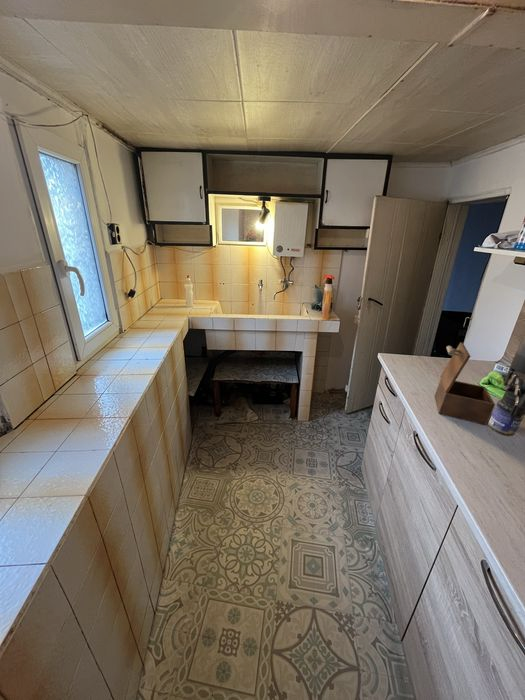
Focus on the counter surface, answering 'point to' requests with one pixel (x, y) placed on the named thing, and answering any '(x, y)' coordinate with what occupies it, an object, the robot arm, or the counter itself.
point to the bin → (465, 402)
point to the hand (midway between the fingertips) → (510, 409)
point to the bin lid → (454, 365)
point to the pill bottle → (505, 416)
